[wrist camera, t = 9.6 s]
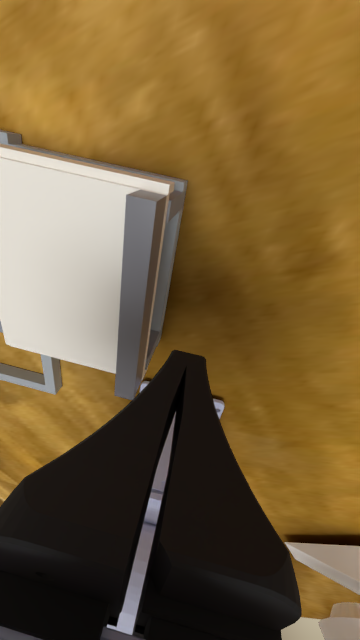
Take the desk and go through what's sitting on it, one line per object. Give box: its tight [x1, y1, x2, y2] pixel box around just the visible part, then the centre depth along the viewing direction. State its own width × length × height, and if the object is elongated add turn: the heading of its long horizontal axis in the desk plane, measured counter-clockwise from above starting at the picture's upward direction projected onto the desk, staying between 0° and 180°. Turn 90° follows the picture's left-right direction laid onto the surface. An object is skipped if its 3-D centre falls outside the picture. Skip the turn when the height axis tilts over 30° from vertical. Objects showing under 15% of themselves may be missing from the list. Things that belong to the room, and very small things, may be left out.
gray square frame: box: [0, 130, 188, 394], centre depth 20 cm, size 22×22×4 cm
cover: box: [0, 144, 175, 400], centre depth 15 cm, size 12×10×3 cm
